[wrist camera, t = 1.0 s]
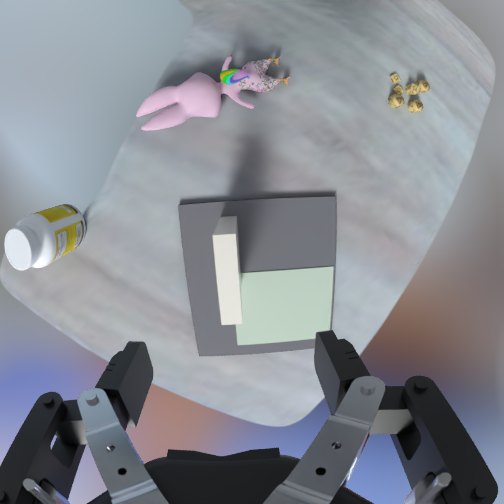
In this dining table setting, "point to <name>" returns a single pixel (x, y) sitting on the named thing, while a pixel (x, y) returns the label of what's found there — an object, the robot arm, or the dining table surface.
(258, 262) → the mat
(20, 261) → the supplement bottle
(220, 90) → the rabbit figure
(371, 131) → the dining table surface
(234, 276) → the tile
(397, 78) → the yellow speckled pebbles
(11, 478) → the robot arm
